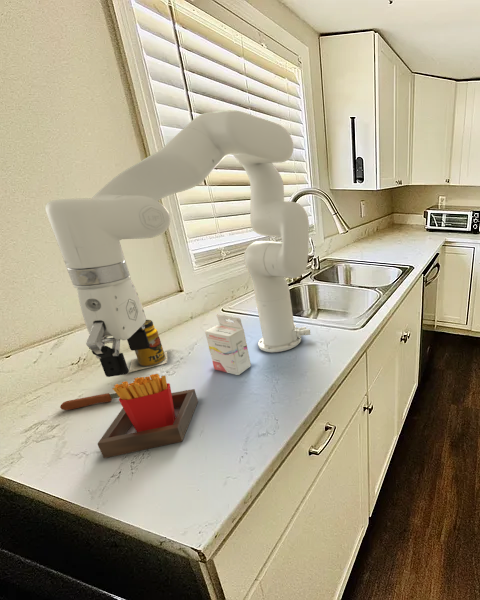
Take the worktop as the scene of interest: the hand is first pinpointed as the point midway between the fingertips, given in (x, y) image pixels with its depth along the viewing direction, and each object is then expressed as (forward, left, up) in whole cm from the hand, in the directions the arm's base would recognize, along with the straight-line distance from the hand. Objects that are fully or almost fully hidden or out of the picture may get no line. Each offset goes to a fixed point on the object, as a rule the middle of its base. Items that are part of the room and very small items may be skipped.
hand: (130, 360), depth 62 cm
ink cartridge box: (-12, -19, -16) cm, 28 cm away
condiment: (+11, -30, -16) cm, 36 cm away
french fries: (0, 0, -16) cm, 16 cm away
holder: (0, 0, -16) cm, 16 cm away
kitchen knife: (+14, -13, -16) cm, 25 cm away
